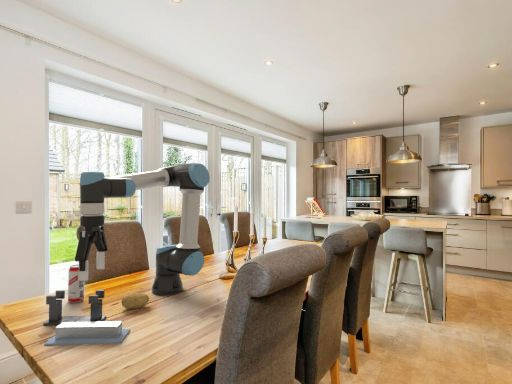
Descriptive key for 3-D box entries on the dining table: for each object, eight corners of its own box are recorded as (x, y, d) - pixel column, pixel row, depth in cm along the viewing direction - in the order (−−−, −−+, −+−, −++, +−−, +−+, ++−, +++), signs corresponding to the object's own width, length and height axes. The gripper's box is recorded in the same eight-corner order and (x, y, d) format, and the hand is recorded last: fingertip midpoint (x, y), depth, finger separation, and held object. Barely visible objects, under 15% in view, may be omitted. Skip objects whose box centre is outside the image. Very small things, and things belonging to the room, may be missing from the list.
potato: (122, 306, 128) (122, 291, 128) (149, 303, 132) (149, 289, 132) (120, 312, 122) (120, 297, 122) (148, 309, 125) (148, 294, 125)
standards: (106, 317, 116) (107, 289, 117) (99, 325, 110) (99, 295, 110) (53, 318, 115) (54, 290, 115) (42, 326, 108) (43, 296, 108)
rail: (121, 332, 103) (122, 321, 103) (117, 337, 99) (117, 326, 99) (62, 333, 102) (62, 322, 102) (55, 339, 98) (55, 327, 98)
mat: (130, 330, 106) (130, 329, 106) (120, 343, 97) (120, 341, 97) (60, 332, 104) (60, 330, 104) (44, 345, 95) (44, 343, 95)
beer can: (76, 304, 130) (77, 268, 130) (64, 302, 131) (65, 267, 131) (87, 299, 136) (87, 264, 136) (75, 298, 137) (76, 263, 137)
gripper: (96, 212, 116) (96, 265, 117) (62, 218, 92) (62, 286, 92) (116, 212, 117) (116, 264, 117) (87, 218, 92) (87, 285, 93)
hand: (92, 274), depth 105 cm, fingers open, 13 cm apart
